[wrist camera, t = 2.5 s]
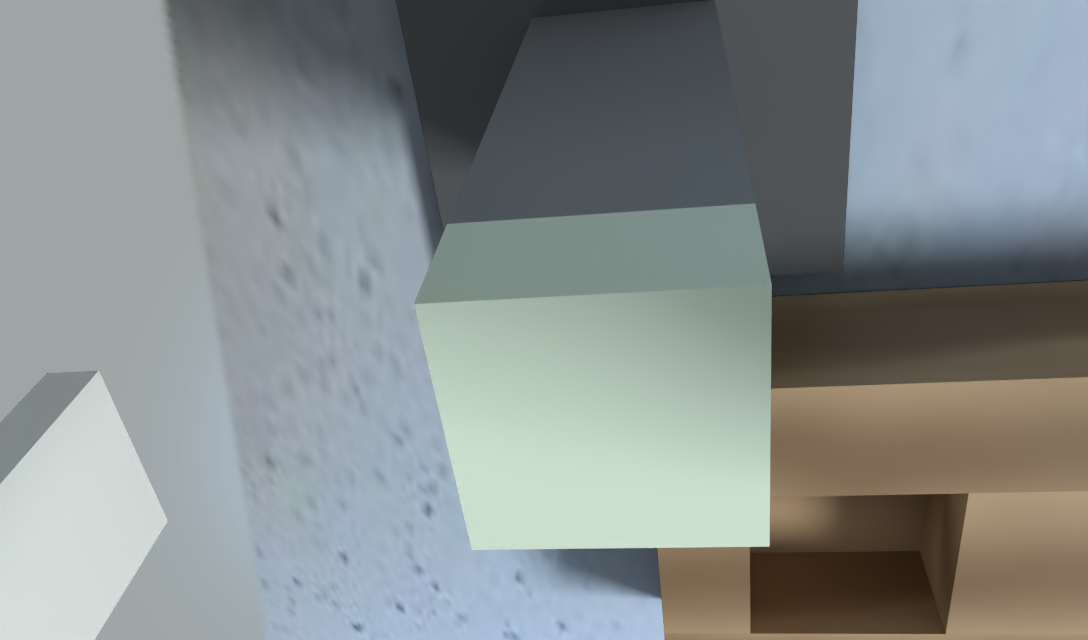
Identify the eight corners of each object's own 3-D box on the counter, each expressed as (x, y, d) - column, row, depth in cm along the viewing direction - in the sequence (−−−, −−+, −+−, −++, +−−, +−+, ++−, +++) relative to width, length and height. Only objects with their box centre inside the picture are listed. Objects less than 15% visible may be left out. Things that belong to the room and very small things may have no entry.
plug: (532, 17, 21) (413, 304, 11) (714, -1, 20) (772, 284, 10) (553, 182, 23) (472, 549, 13) (718, 170, 22) (769, 546, 12)
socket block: (646, 303, 25) (643, 401, 21) (1490, 259, 22) (1652, 365, 18) (669, 601, 31) (670, 715, 28) (1325, 600, 28) (1421, 727, 25)
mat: (380, -117, 20) (373, -112, 19) (861, -178, 18) (867, -174, 18) (460, 281, 25) (456, 292, 25) (838, 260, 24) (842, 271, 23)
